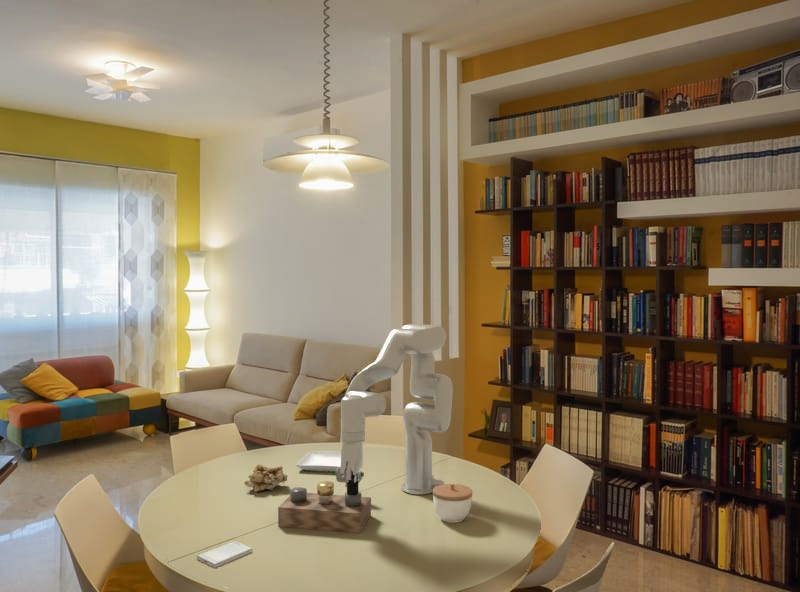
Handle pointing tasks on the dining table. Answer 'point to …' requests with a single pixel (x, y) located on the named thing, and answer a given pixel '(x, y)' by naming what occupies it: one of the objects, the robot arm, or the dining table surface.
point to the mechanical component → (343, 478)
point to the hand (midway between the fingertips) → (352, 494)
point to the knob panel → (324, 514)
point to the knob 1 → (298, 494)
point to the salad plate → (321, 461)
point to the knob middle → (325, 492)
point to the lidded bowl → (452, 502)
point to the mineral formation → (266, 478)
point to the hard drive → (224, 554)
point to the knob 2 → (353, 500)
